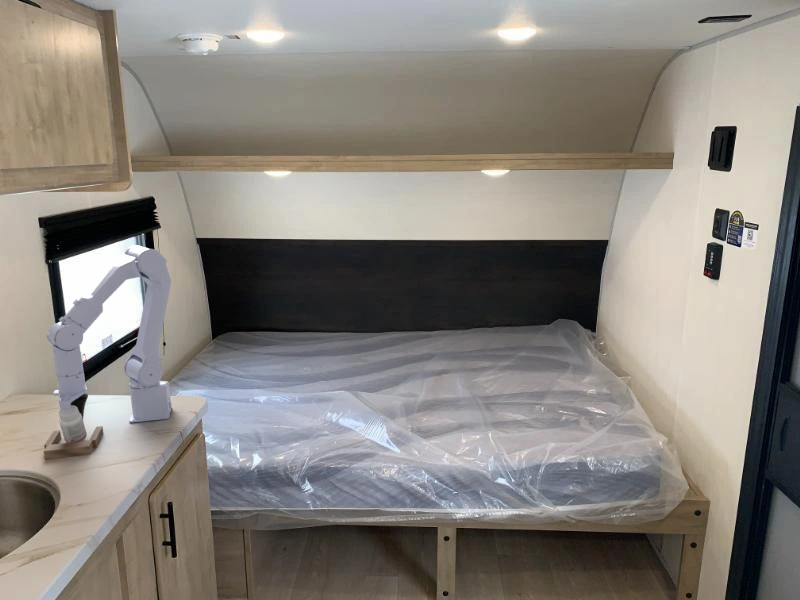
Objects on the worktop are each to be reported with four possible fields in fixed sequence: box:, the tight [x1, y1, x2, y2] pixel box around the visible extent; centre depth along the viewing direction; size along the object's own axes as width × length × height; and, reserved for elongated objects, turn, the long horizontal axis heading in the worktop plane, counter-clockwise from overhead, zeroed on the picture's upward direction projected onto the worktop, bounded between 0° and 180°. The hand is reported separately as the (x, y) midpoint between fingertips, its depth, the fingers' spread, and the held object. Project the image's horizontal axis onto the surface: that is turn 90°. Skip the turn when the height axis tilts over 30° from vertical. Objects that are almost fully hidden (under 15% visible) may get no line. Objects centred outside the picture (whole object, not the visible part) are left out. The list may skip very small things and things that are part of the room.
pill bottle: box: [58, 405, 88, 443], centre depth 144 cm, size 5×5×8 cm
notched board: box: [43, 425, 104, 460], centre depth 143 cm, size 11×10×2 cm
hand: (77, 425), depth 147 cm, fingers closed, pressing on pill bottle
